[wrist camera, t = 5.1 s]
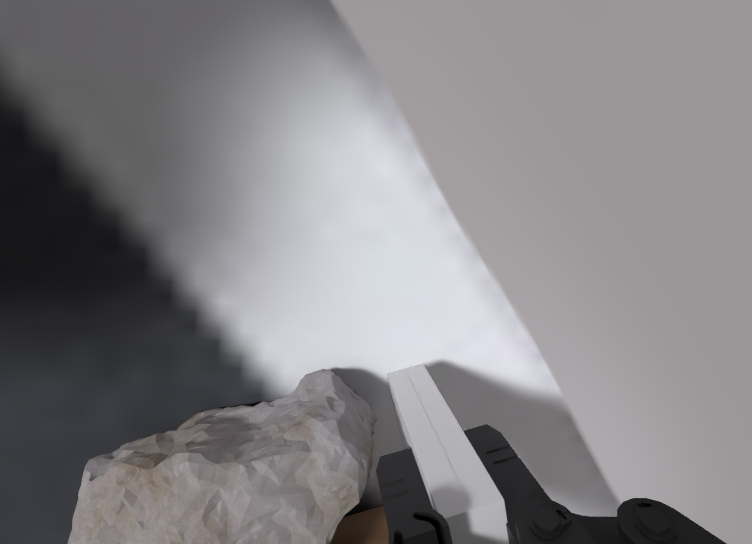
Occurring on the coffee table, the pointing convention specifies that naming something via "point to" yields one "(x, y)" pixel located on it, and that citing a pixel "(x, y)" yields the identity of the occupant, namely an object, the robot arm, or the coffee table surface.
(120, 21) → the coffee table surface
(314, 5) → the coffee table surface
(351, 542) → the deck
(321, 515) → the stone
